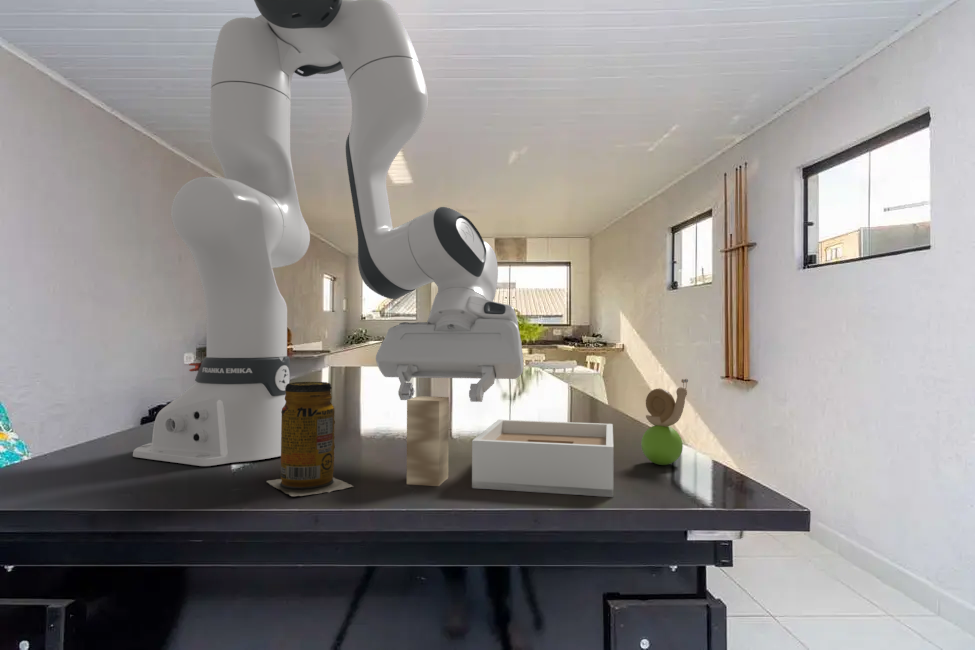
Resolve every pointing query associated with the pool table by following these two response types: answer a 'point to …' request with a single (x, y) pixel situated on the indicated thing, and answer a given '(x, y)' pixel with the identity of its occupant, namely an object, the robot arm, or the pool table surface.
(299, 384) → the condiment
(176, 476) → the pool table surface
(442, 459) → the beech peg
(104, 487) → the pool table surface
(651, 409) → the snail figurine
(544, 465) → the open box
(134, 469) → the pool table surface
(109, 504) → the pool table surface
